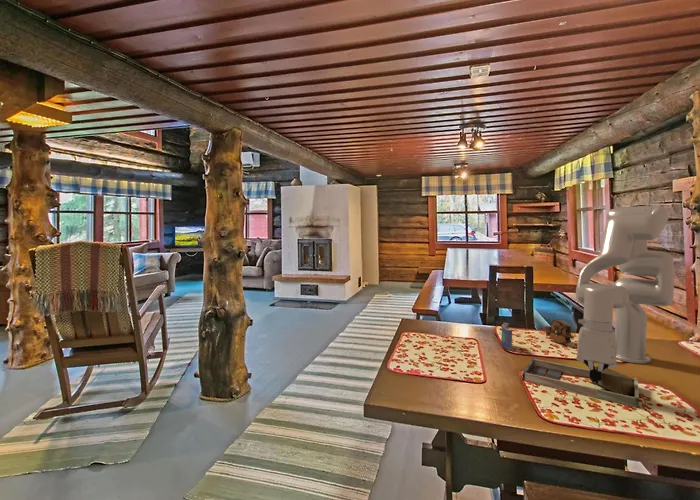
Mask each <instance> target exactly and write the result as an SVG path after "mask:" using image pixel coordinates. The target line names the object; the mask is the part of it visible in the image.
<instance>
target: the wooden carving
mask: <svg viewBox="0 0 700 500" xmlns="http://www.w3.org/2000/svg"><path fill="white" fill-rule="evenodd" d="M544 332H545V336H546V337H550V339H551V340H552V341H553V342H555V343H557V344H565V345H567V344H570V343H572V340H571V339H575V336H574V335H572V333H571V332H572V326H571V325H569V324H568V323H567V322H566V321H565V320H562V319H561V320H557V319H552V321H551V325H550V326H549V325H546V326H544Z"/></svg>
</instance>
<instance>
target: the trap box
mask: <svg viewBox="0 0 700 500" xmlns="http://www.w3.org/2000/svg"><path fill="white" fill-rule="evenodd" d="M562 373H565V374H569V375H574V376H579V377H584V378H588V379H590V378H589V373H590V369H587V368H581V367H577V366H572V365H568V364H562V363H558V362H557V363H556V362H553V361H548V360H547V361H546V360H542V359H537V358H532V359H531V360H530V361H529V363H528V364H527V365H526V367H525V369H523V372H522V374H521V375H522V376H521V377H522V381H526V382H529V383H533V384H537V385H538V384H539V385H542V386H547V387H550V388H553V389H554V388H555V389H559V390H563V391H566V392H567V391H568V392H572V393H576V394H579V395H584V396H587V397H588V396H589V397H591V398H595V399H596V398H597V399H599V400H600V399H601V400H605V401H609V402H613V403H617V404H621V405H624V406H629V407H634V408H639V405H640V404H639V402H640V400H639V399H640V396H639V395H640V394H639V381H638V377H635V376H634V378H633V379H634V388H635V389H634V393H633V395H634V396H630V395H622V394H618V393H614V392H612V391H610V390H609V391H608V390H604V389H598V388H596V387H590V386H587V385H582V384H578V383H572V382H568V381H564V380H560V378H561V375H562Z"/></svg>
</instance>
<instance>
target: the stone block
mask: <svg viewBox="0 0 700 500" xmlns="http://www.w3.org/2000/svg"><path fill="white" fill-rule="evenodd" d="M598 366H599V365H598ZM598 366H595V369H597V367H598ZM588 379H589V380H590V381H591V382H592V379H590V373H589V378H588ZM597 385H599V386H601V387H603V388H604V389H606V390H607V391H608V390H609V392H613V393H618V394H622V395H626V396H630V394H634V389H635V388H634V378H631V377H629V376H627V375H625V374H624V373H621V372H618V371H616V370H614V369H613V368H606V369H604V370H603V371H602V374H601V381H598V384H597Z"/></svg>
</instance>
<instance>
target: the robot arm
mask: <svg viewBox="0 0 700 500" xmlns="http://www.w3.org/2000/svg"><path fill="white" fill-rule="evenodd" d="M668 221H669V213H668V210H667V209H666V208H665V207H664V206H661V205H648V206H647V205H645V206H623V207H615V208H612V209H609V210H608V211H607V213H606V223H605V227H604V231H603V236H602V240H601V246H600V249H599V254H597V256H596V257H594V258H592V259H591V260H590V261H588V262H587V263H586V265H584V267H582V269H581V271H580V272H579V275H578V279H577V282H576V283H577V284H576V289H575V297H576V300H577V301H578V302H579V303H581V304H582V305H583V318H581V319H580V318H578V321H577V323H578V324H580V325H582V326H581V327H580V328H579V332H578V338H577V345H576V346H577V347H576V358H575V359H576V360H577V361H578V362H581V363H583V364H585V366H586V367H588V370H590V378H589V380H590V379H592V381H591V383H593V384H594V383H595V384H597V385H599V384H598V381H601V374H602V371H603V370H604V369H606V368H609V369H613V368H615V369H617V368H618V363H617V360H620V361H622V362H626V363H631V364H641V365H642V364H645V365H646V364H649V363H651V361H652V359H651V357H650V356H649V355H647V354H646V353H647V351H646V349H647V328H648V327H647V326H648V325H647V324H648V315H647V313H646V311H645V309H644V308H643V307H642V306H641V305H646V306H647V305H648V306H656V307H668V306H671V304H672V303H673V301H674V290H675V262H674V258H673V256H672V255H671V254H670V253H669V252H666V251H657V250H656V251H653V250H648V241H651V240H655V239H657V238H658V237H659V236H660V234H662V231H663V230H664V229H665V227H666V226H667V225H668ZM613 267H618V270H619V271H620V273H622V274H623V275H629V276H636V277H637V276H638V277H650V278H655V279H645V278H635V277H622V278H619V279H617V280H616V281H615V282H614V284H608V283H599V282H597V283H596V282H591V280H592V278H594V276H595V275H596V274H597V273H599V272H601V271H604V270H607V269H611V268H613ZM614 309H615V324H614V325H615V326H614V330H613V321H614V320H613V319H614V318H613V316H614ZM594 363H598V367H597V369H595V367H596V366H595V364H594Z"/></svg>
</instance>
